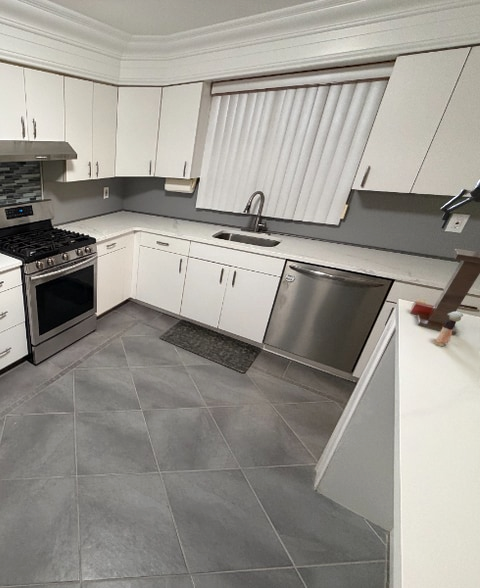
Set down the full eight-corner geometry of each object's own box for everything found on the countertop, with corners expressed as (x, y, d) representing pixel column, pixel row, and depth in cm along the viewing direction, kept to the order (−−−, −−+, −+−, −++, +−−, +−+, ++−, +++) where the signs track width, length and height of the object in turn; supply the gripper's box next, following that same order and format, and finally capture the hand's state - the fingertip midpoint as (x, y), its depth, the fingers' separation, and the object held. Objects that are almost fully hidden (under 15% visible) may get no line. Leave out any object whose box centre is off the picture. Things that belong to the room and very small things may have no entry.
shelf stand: (454, 335, 115) (502, 262, 102) (417, 325, 121) (458, 255, 108) (451, 323, 123) (495, 254, 110) (416, 314, 129) (454, 248, 116)
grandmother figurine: (447, 349, 107) (468, 317, 101) (432, 344, 109) (451, 313, 103) (445, 340, 112) (465, 310, 106) (430, 336, 114) (449, 306, 109)
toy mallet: (430, 318, 127) (435, 308, 125) (410, 313, 130) (415, 304, 128) (428, 306, 137) (433, 297, 135) (409, 301, 140) (414, 293, 138)
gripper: (542, 180, 117) (507, 235, 127) (448, 175, 132) (423, 224, 142) (548, 181, 112) (512, 238, 122) (450, 176, 127) (424, 226, 137)
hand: (464, 230), depth 132 cm, fingers open, 13 cm apart
